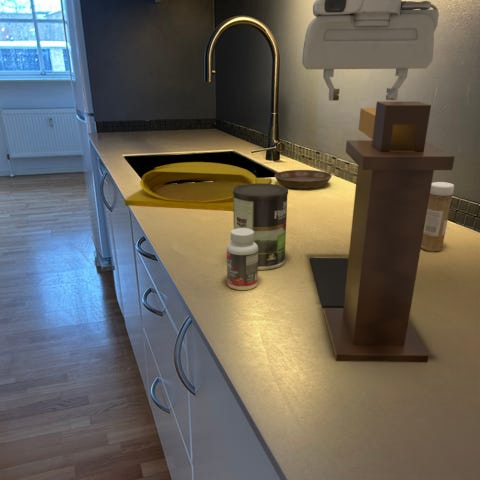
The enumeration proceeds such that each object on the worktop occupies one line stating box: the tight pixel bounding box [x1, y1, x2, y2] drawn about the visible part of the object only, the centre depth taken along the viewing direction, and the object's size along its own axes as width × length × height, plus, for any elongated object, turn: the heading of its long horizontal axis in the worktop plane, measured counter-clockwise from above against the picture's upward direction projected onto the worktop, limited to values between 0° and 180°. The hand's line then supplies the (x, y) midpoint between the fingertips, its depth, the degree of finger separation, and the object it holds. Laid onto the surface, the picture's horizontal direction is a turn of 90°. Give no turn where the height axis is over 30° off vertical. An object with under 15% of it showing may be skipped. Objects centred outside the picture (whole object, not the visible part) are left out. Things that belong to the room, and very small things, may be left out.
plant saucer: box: [274, 169, 333, 190], centre depth 160 cm, size 18×18×3 cm
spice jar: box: [421, 181, 455, 252], centre depth 104 cm, size 5×5×13 cm
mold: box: [124, 161, 272, 212], centre depth 149 cm, size 35×35×9 cm
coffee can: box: [232, 183, 289, 271], centre depth 97 cm, size 10×10×14 cm
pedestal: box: [323, 139, 456, 363], centre depth 68 cm, size 12×14×26 cm
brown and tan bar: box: [358, 101, 432, 152], centre depth 67 cm, size 5×20×5 cm, turn 178°
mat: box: [309, 257, 349, 309], centre depth 91 cm, size 12×22×1 cm, turn 178°
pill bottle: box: [226, 228, 259, 291], centre depth 88 cm, size 5×5×10 cm
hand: (362, 100), depth 84 cm, fingers open, 8 cm apart
